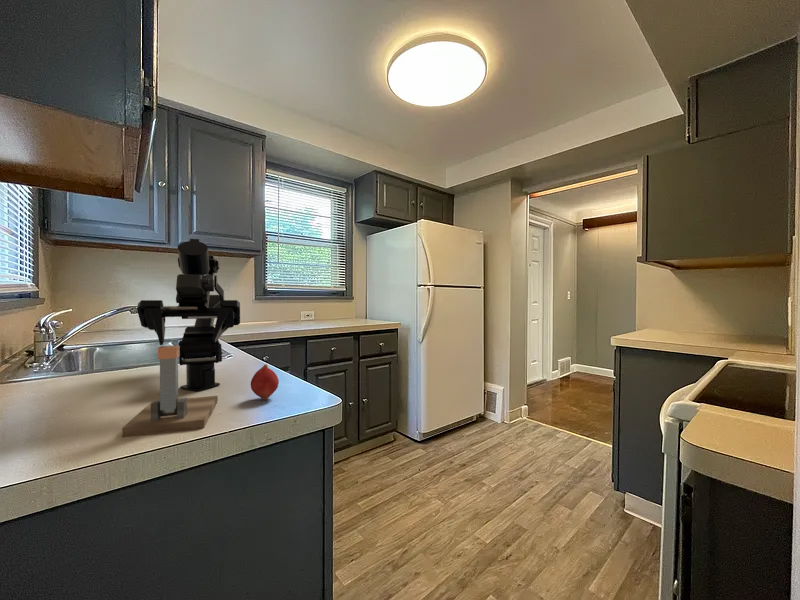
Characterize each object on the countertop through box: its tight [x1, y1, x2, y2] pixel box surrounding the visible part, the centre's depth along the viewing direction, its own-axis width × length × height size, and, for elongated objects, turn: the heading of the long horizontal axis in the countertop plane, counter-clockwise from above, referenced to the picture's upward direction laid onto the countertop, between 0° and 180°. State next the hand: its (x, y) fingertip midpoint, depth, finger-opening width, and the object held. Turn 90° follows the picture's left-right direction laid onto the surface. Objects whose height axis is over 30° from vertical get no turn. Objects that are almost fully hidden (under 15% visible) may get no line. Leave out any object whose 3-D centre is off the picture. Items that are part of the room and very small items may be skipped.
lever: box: [157, 344, 180, 416], centre depth 62 cm, size 2×3×12 cm
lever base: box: [121, 395, 219, 438], centre depth 67 cm, size 15×12×4 cm
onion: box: [250, 363, 280, 401], centre depth 78 cm, size 6×6×8 cm
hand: (188, 342), depth 70 cm, fingers open, 9 cm apart
